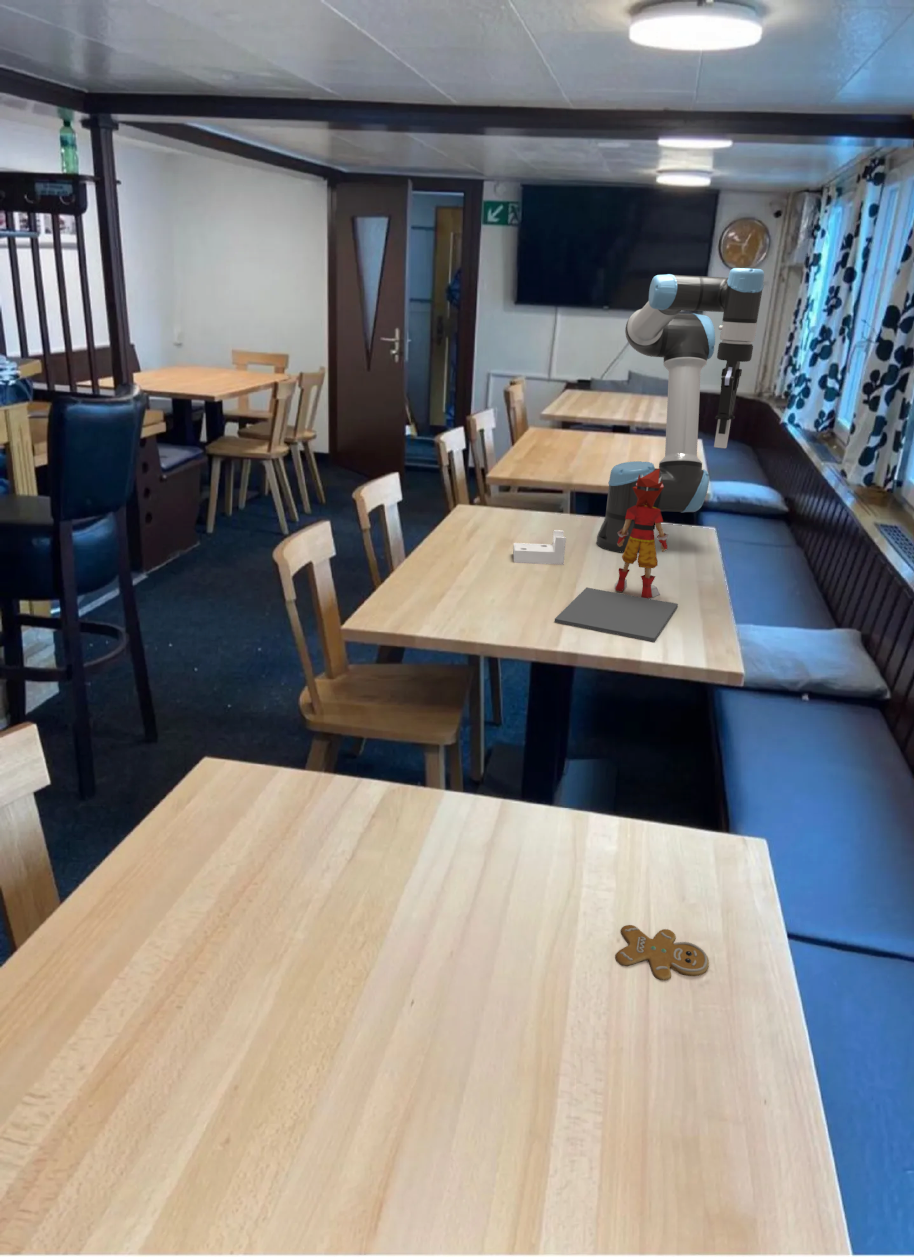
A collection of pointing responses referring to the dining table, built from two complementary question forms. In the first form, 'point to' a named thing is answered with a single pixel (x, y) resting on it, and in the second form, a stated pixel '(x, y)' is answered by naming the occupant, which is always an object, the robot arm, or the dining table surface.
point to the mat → (618, 614)
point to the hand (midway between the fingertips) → (720, 447)
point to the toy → (643, 533)
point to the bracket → (541, 551)
